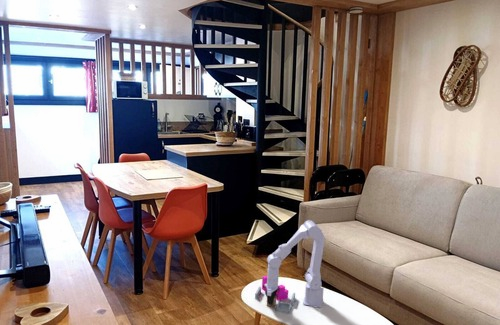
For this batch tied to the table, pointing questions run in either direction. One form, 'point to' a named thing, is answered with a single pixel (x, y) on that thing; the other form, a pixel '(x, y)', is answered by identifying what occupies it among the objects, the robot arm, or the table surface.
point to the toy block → (281, 292)
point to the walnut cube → (273, 302)
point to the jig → (281, 306)
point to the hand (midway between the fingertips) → (271, 302)
